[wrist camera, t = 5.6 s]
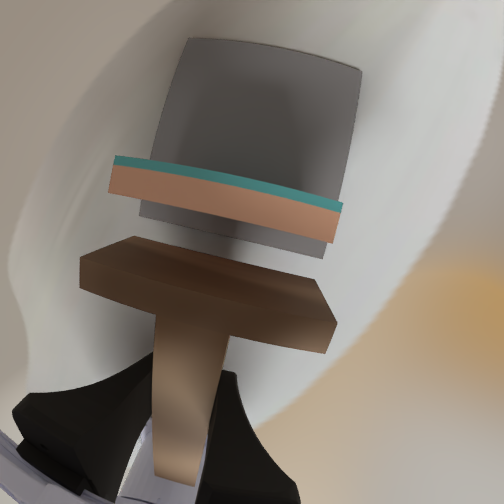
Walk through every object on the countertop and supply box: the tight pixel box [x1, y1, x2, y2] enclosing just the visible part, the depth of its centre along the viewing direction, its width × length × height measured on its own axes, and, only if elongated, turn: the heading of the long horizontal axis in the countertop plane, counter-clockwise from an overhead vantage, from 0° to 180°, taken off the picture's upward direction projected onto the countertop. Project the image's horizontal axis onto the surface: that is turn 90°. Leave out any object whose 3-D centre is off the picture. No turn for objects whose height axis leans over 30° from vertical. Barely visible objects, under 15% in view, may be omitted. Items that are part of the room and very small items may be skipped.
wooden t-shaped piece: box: [80, 236, 338, 487], centre depth 12 cm, size 13×9×4 cm
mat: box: [139, 38, 362, 259], centre depth 15 cm, size 12×12×1 cm
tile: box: [108, 155, 343, 244], centre depth 11 cm, size 1×7×8 cm, turn 76°
